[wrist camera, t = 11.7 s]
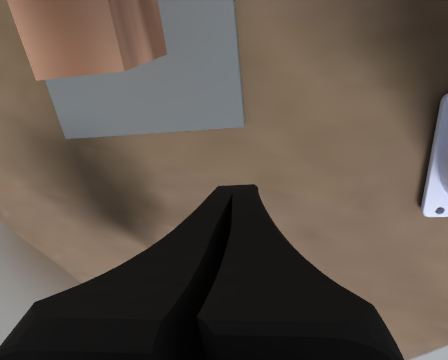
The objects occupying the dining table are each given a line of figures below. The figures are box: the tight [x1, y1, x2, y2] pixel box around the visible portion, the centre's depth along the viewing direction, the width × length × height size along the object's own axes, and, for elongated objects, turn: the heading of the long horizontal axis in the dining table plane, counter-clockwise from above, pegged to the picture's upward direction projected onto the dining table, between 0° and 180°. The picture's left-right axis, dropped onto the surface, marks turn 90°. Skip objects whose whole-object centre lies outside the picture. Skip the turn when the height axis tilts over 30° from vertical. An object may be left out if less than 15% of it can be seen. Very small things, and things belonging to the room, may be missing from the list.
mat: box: [45, 0, 245, 139], centre depth 18 cm, size 12×14×1 cm
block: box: [7, 0, 167, 80], centre depth 15 cm, size 4×5×6 cm
